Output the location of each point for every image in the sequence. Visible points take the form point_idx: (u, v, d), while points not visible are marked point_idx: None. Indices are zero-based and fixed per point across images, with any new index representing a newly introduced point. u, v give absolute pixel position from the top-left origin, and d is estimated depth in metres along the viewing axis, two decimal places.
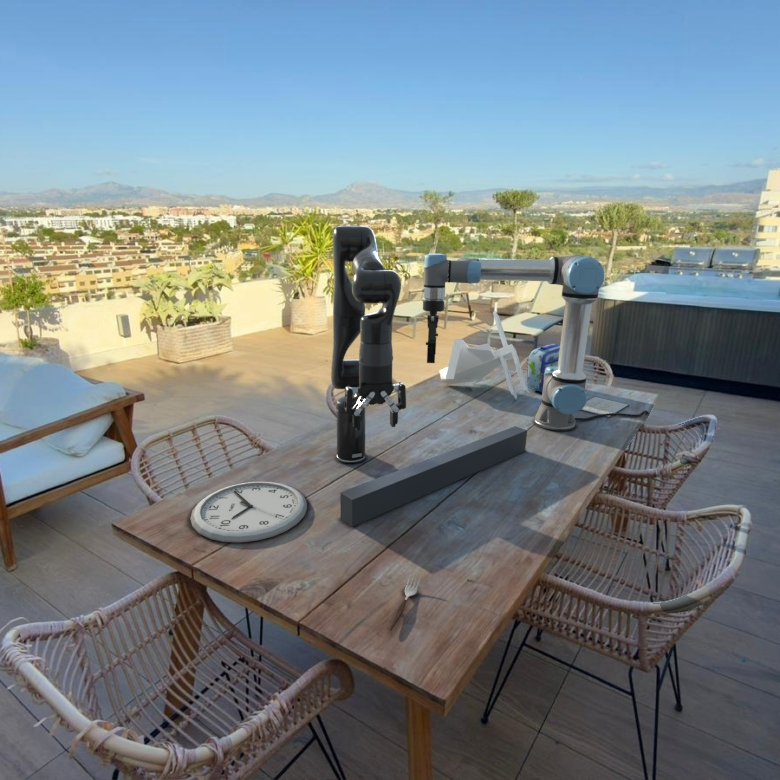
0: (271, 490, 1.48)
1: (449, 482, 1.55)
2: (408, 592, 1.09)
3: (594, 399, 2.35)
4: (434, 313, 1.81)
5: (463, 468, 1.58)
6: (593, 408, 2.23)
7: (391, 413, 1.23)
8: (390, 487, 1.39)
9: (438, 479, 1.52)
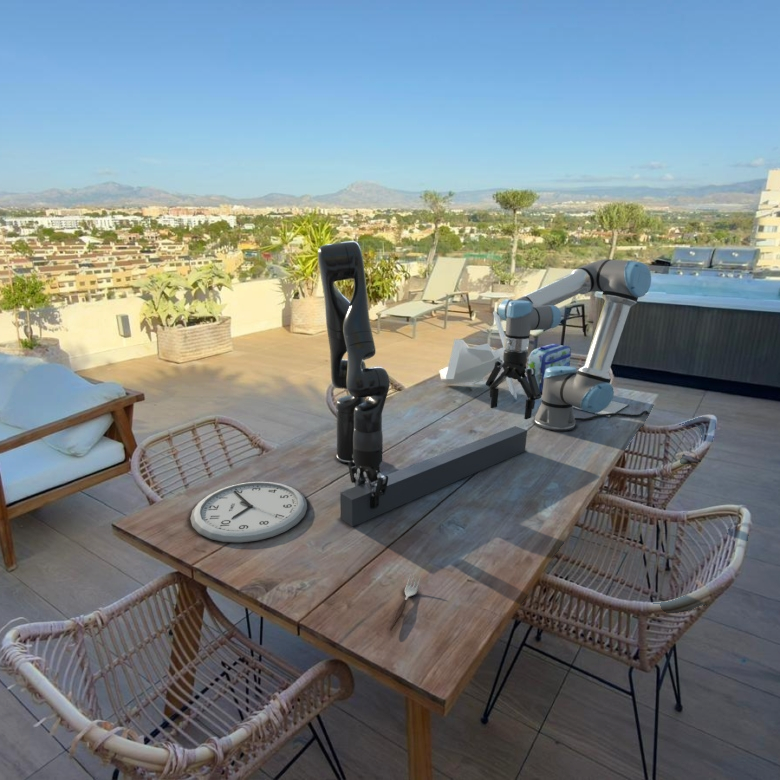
0: (271, 490, 1.48)
1: (449, 482, 1.55)
2: (408, 592, 1.09)
3: None
4: (525, 365, 1.65)
5: (463, 468, 1.58)
6: None
7: None
8: (390, 487, 1.39)
9: (438, 479, 1.52)
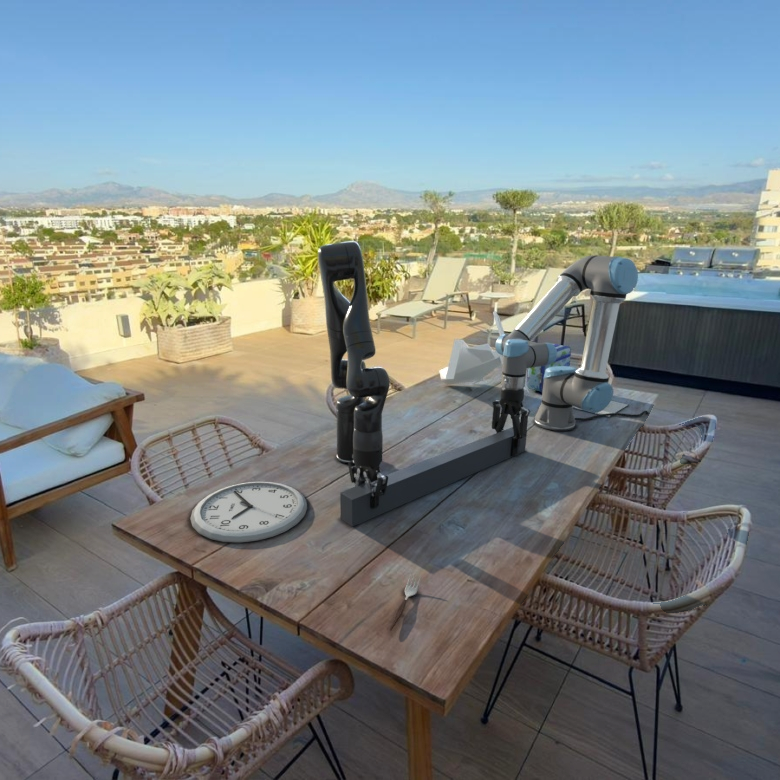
0: (271, 490, 1.48)
1: (449, 482, 1.55)
2: (408, 592, 1.09)
3: None
4: (521, 402, 1.69)
5: (463, 468, 1.58)
6: None
7: None
8: (390, 487, 1.39)
9: (438, 479, 1.52)
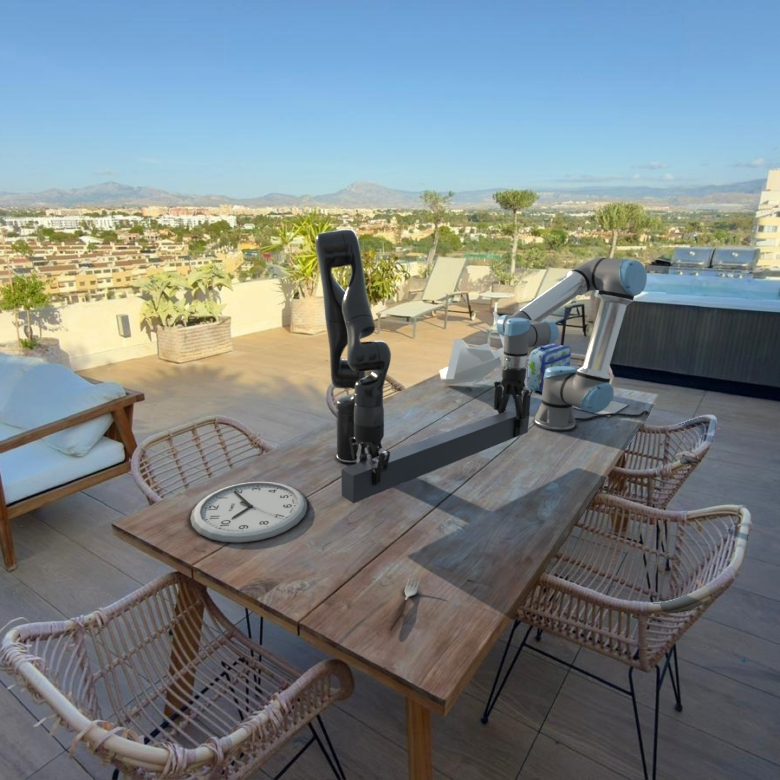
0: (271, 490, 1.48)
1: (451, 461, 1.54)
2: (408, 592, 1.09)
3: None
4: None
5: (465, 448, 1.57)
6: None
7: None
8: (392, 463, 1.37)
9: (440, 457, 1.50)
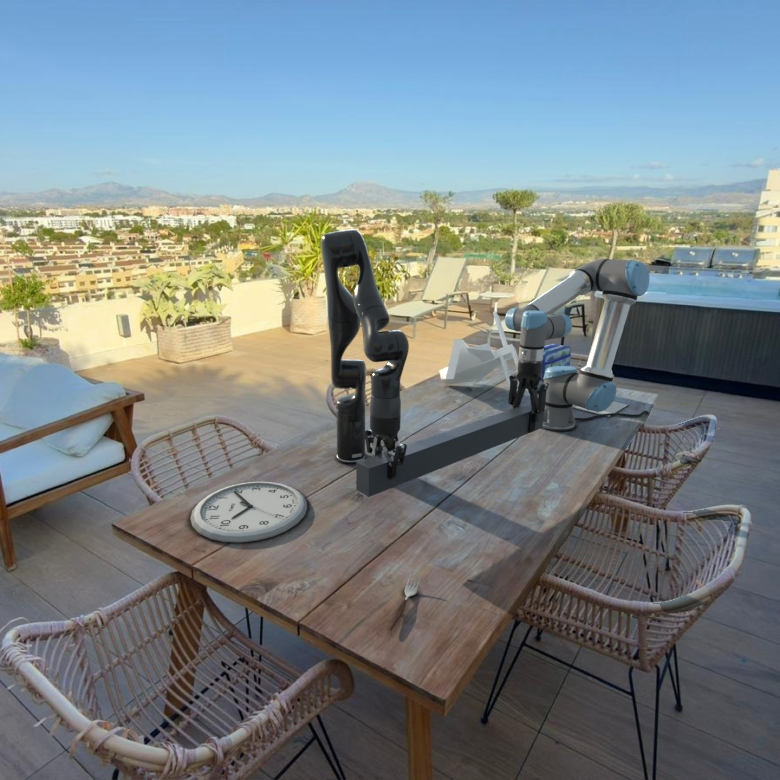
0: (271, 490, 1.48)
1: (466, 456, 1.51)
2: (408, 592, 1.09)
3: None
4: None
5: (480, 442, 1.53)
6: None
7: None
8: (407, 457, 1.34)
9: (455, 452, 1.47)
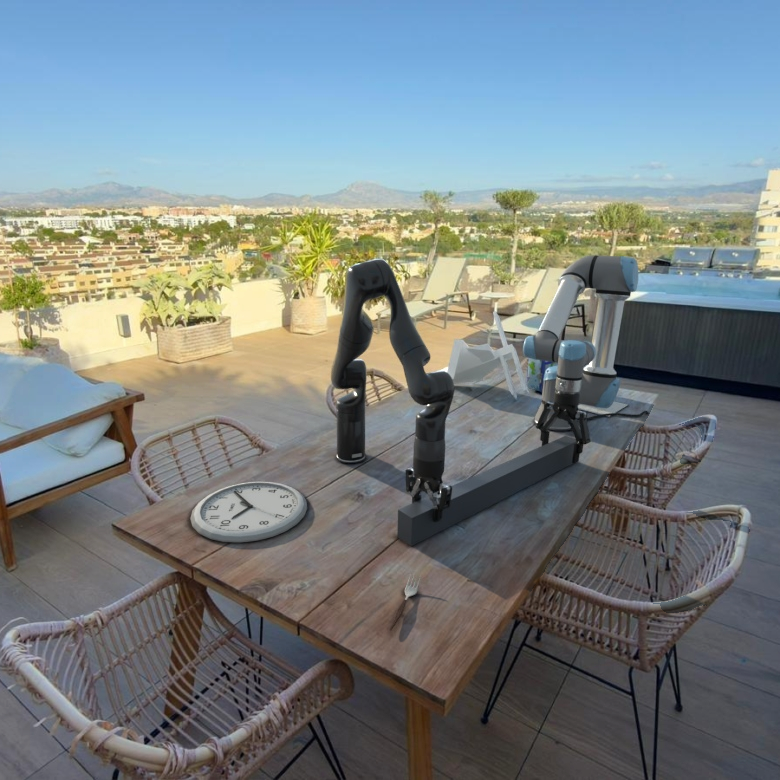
0: (271, 490, 1.48)
1: (504, 496, 1.48)
2: (408, 592, 1.09)
3: None
4: (577, 406, 1.61)
5: (518, 481, 1.51)
6: (593, 408, 2.23)
7: (418, 497, 1.31)
8: None
9: (494, 493, 1.44)
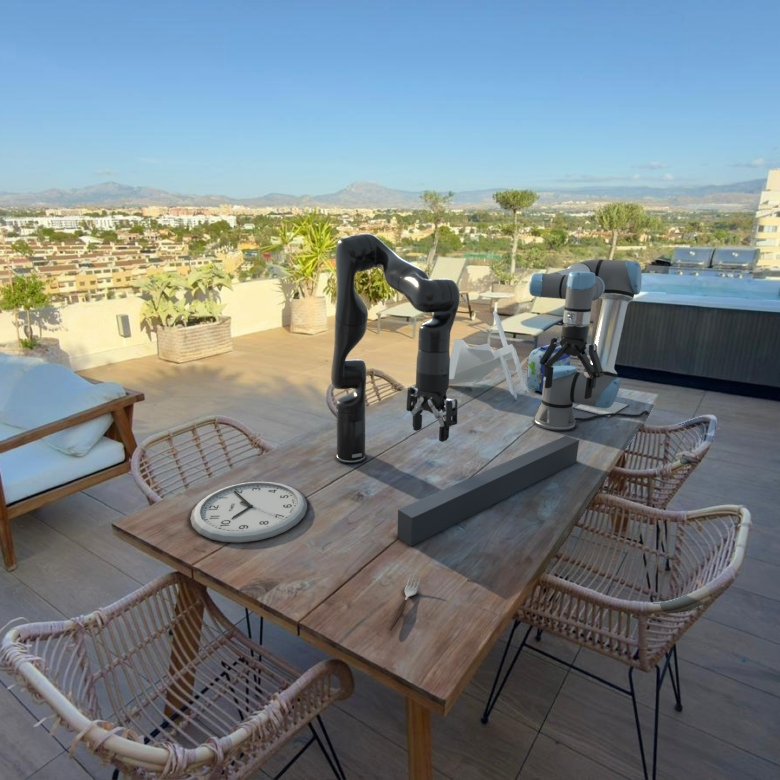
0: (271, 490, 1.48)
1: (504, 496, 1.48)
2: (408, 592, 1.09)
3: None
4: (586, 340, 1.55)
5: (518, 481, 1.51)
6: (593, 408, 2.23)
7: (419, 417, 1.25)
8: (448, 503, 1.31)
9: (494, 493, 1.44)
